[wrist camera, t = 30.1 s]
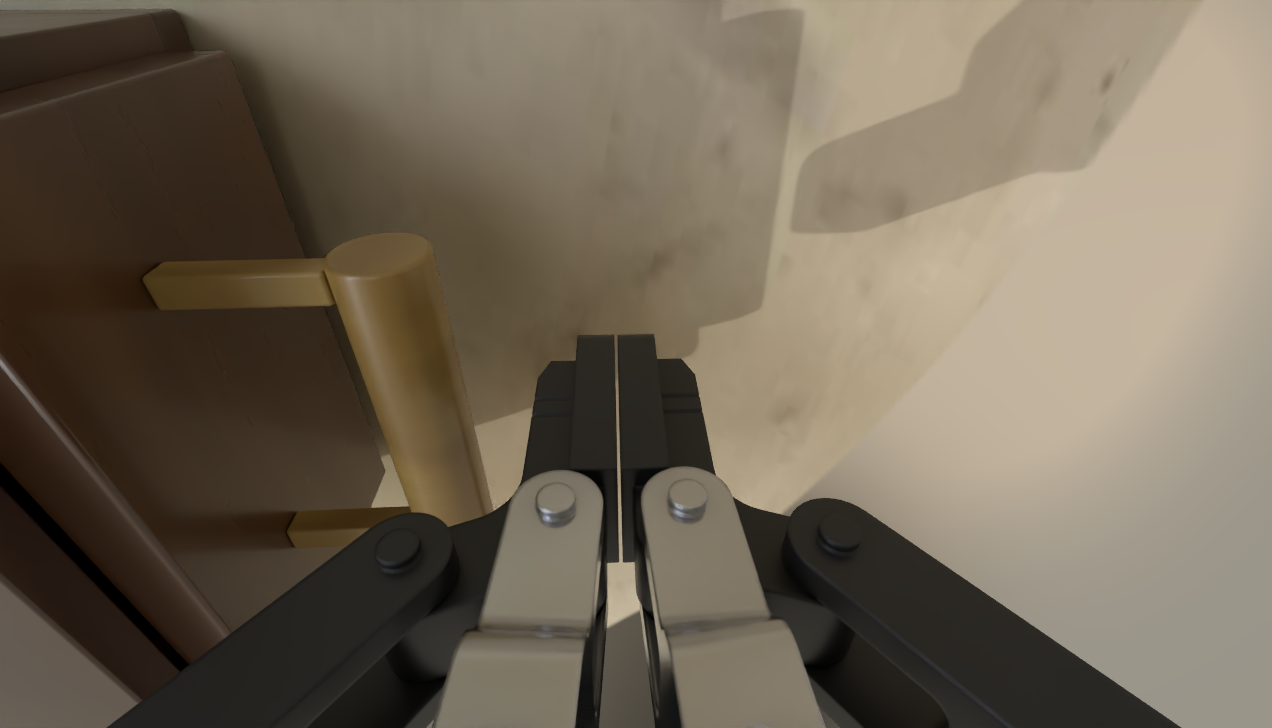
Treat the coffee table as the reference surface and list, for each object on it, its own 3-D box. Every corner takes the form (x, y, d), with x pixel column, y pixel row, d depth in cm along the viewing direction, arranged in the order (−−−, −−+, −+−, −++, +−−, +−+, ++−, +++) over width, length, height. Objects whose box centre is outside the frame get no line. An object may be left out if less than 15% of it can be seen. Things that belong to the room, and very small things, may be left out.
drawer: (460, 47, 11) (318, 152, 6) (528, 465, 18) (495, 700, 12) (-538, 58, 10) (-1820, 189, 5) (-74, 488, 17) (-391, 745, 12)
